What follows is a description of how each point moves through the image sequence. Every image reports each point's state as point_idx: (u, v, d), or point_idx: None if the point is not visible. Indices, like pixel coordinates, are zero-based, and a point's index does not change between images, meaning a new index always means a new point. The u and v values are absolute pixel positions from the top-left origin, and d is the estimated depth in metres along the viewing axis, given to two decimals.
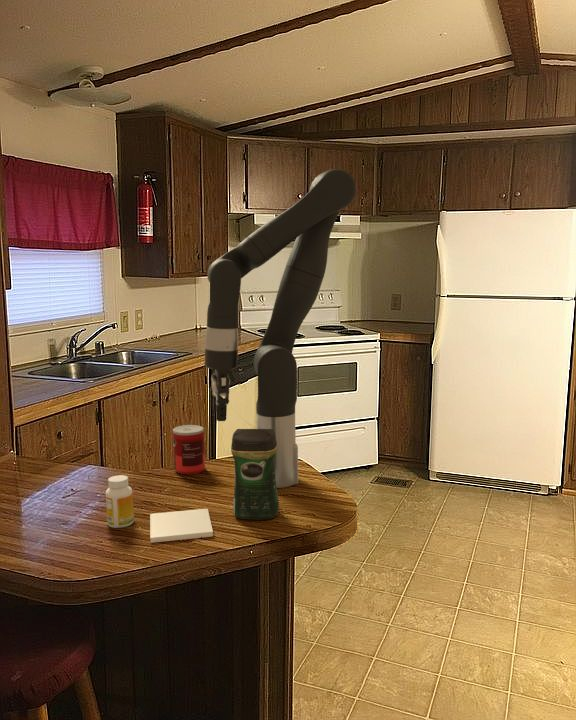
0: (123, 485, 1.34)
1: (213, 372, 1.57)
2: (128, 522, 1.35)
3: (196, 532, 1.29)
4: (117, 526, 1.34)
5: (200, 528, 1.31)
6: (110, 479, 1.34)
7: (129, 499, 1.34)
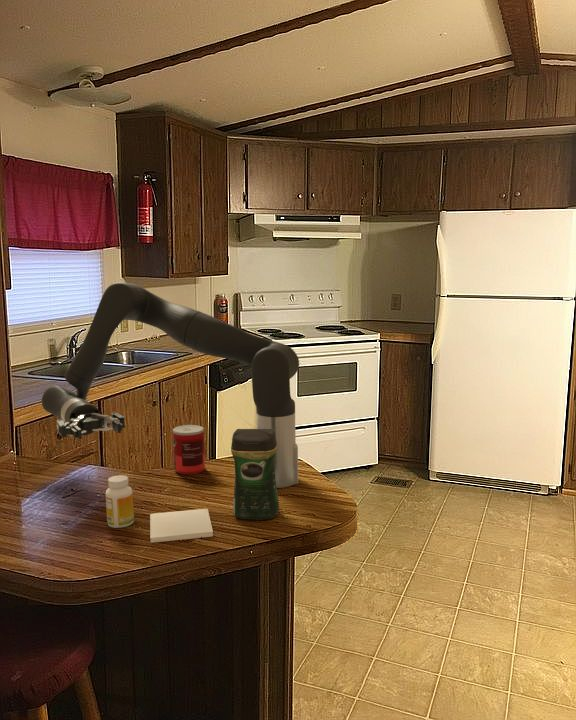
0: (123, 485, 1.34)
1: None
2: (128, 522, 1.35)
3: (196, 532, 1.29)
4: (117, 526, 1.34)
5: (200, 528, 1.31)
6: (110, 479, 1.34)
7: (129, 499, 1.34)
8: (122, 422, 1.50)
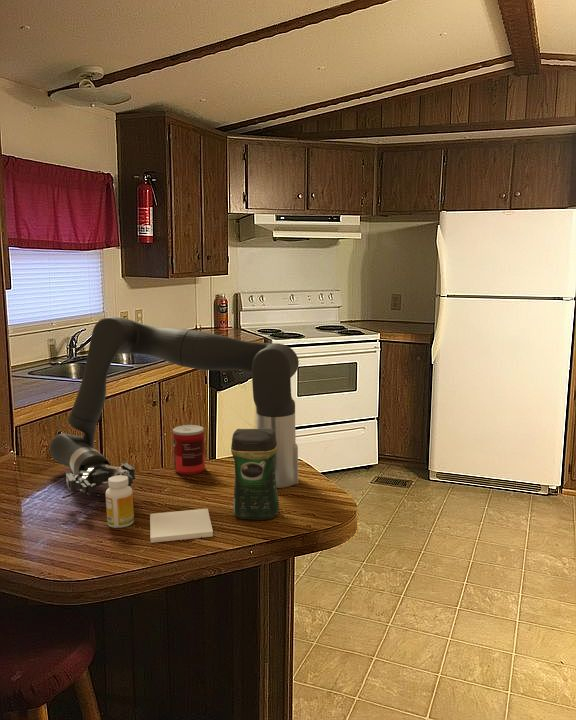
0: (123, 485, 1.34)
1: None
2: (128, 522, 1.35)
3: (196, 532, 1.29)
4: (117, 526, 1.34)
5: (200, 528, 1.31)
6: (110, 479, 1.34)
7: (129, 499, 1.34)
8: (132, 474, 1.48)
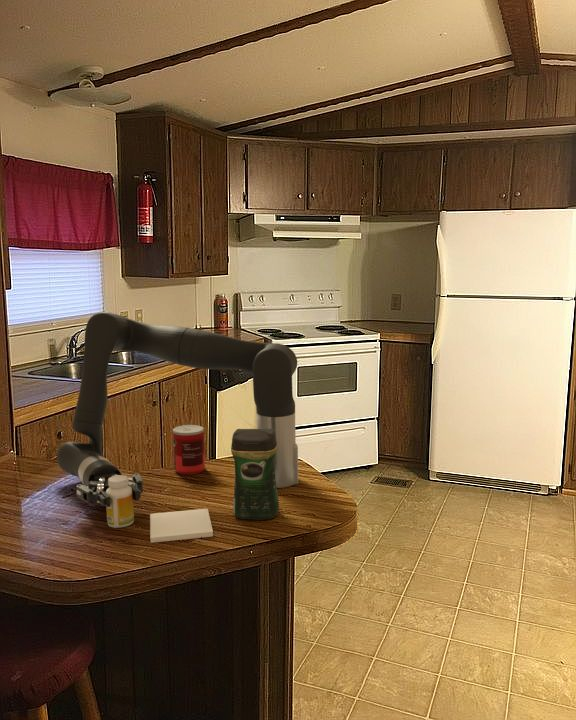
0: (123, 485, 1.34)
1: None
2: (128, 522, 1.35)
3: (196, 532, 1.29)
4: (117, 526, 1.34)
5: (200, 528, 1.31)
6: (110, 479, 1.34)
7: (129, 499, 1.34)
8: (139, 487, 1.39)
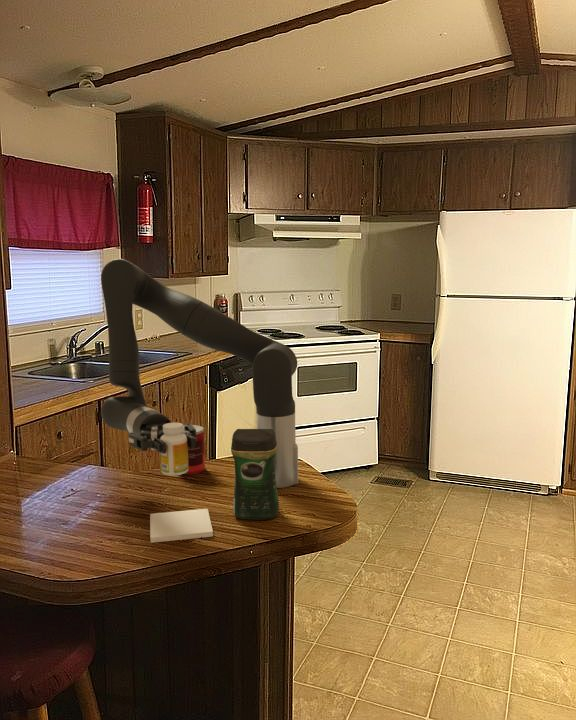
0: (179, 432, 1.29)
1: None
2: (183, 470, 1.30)
3: (196, 532, 1.29)
4: (172, 473, 1.29)
5: (200, 528, 1.31)
6: (165, 425, 1.30)
7: (184, 447, 1.30)
8: (193, 435, 1.35)
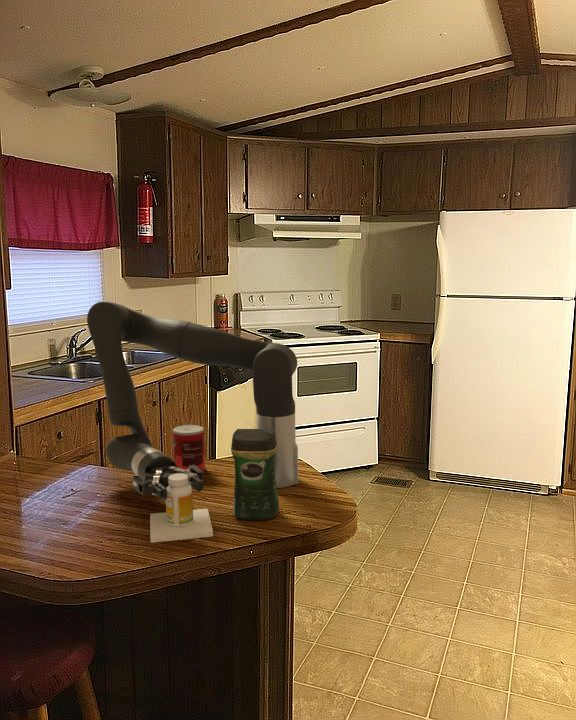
0: (184, 484, 1.31)
1: (190, 477, 1.42)
2: (188, 521, 1.32)
3: (196, 532, 1.29)
4: (177, 525, 1.31)
5: (200, 528, 1.31)
6: (170, 477, 1.32)
7: (190, 498, 1.32)
8: (200, 478, 1.37)
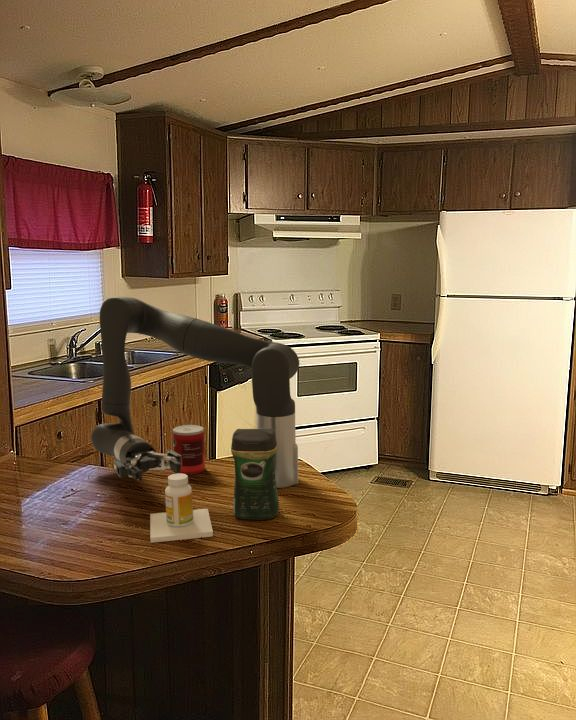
0: (184, 484, 1.31)
1: None
2: (188, 521, 1.32)
3: (196, 532, 1.29)
4: (178, 525, 1.31)
5: (200, 528, 1.31)
6: (170, 477, 1.32)
7: (189, 498, 1.32)
8: (179, 461, 1.49)
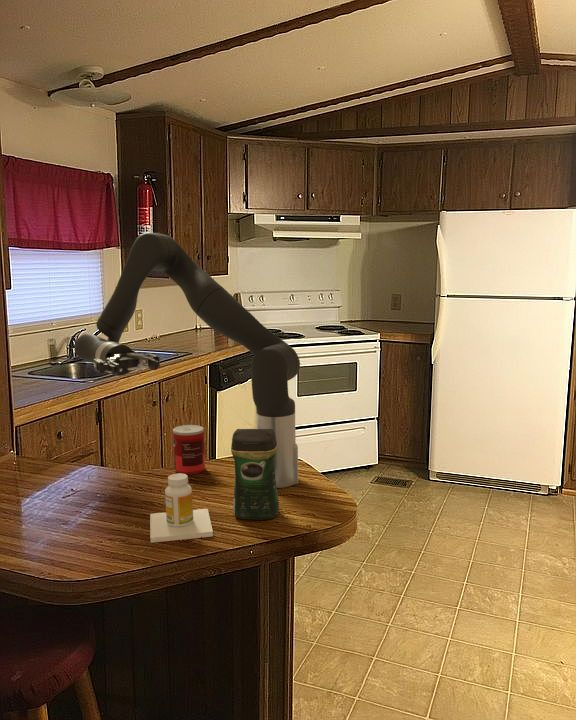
0: (184, 484, 1.31)
1: (147, 364, 1.57)
2: (188, 521, 1.32)
3: (196, 532, 1.29)
4: (178, 525, 1.31)
5: (200, 528, 1.31)
6: (170, 477, 1.32)
7: (189, 498, 1.32)
8: (157, 361, 1.53)
